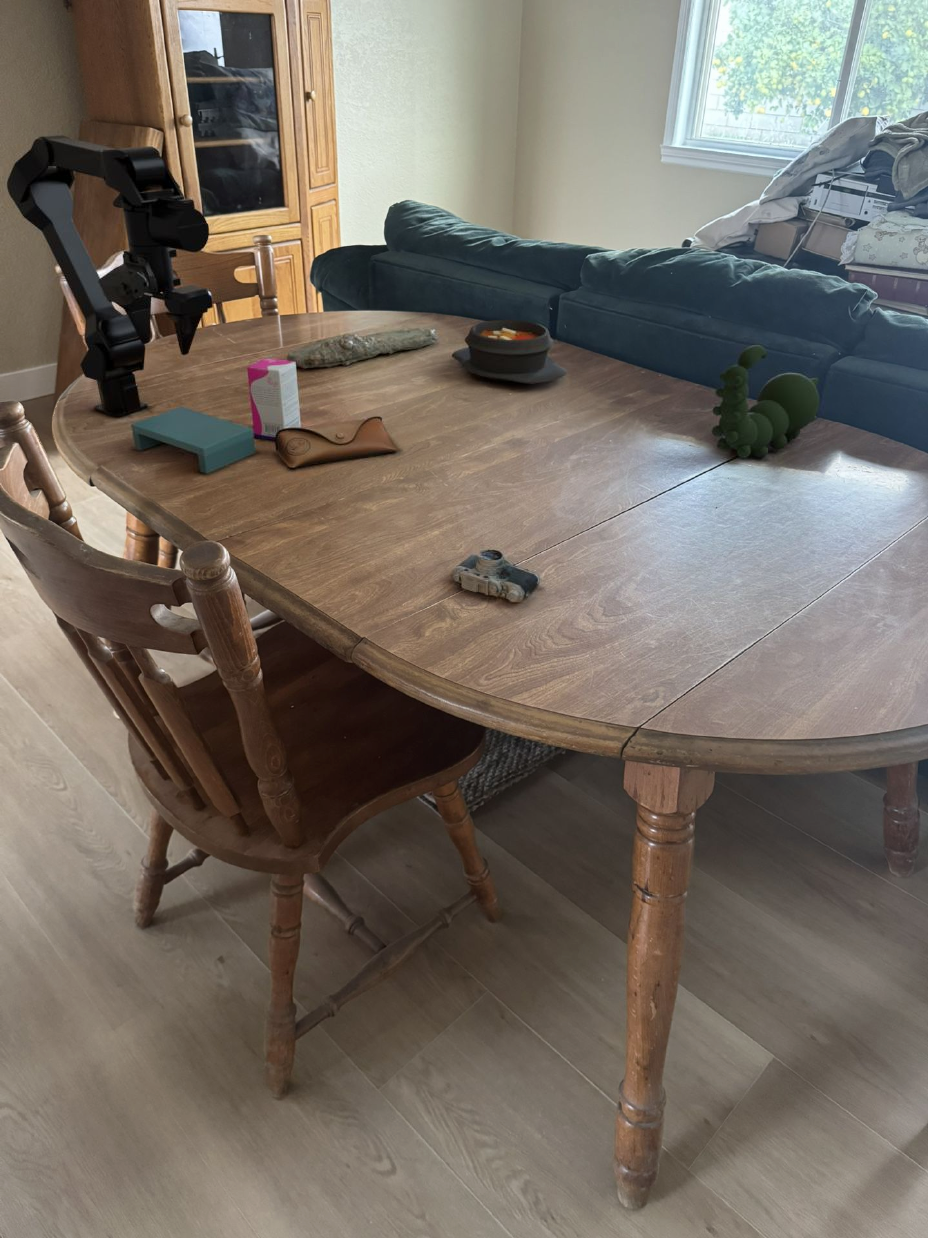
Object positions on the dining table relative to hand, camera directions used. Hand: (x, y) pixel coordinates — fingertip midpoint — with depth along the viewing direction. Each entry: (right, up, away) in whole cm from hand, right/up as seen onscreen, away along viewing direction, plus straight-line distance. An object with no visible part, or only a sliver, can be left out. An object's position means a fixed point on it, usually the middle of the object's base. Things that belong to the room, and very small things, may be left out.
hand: (164, 348), depth 142 cm
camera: (+51, -39, -34) cm, 72 cm away
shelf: (+5, -16, -1) cm, 17 cm away
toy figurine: (+95, -15, +5) cm, 97 cm away
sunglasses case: (+27, -17, 0) cm, 32 cm away
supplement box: (+17, -12, +6) cm, 21 cm away
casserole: (+55, +5, +35) cm, 66 cm away
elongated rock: (+27, +11, +43) cm, 52 cm away
